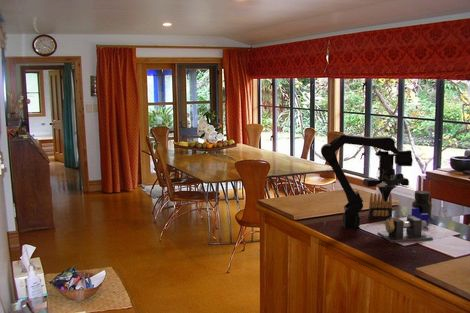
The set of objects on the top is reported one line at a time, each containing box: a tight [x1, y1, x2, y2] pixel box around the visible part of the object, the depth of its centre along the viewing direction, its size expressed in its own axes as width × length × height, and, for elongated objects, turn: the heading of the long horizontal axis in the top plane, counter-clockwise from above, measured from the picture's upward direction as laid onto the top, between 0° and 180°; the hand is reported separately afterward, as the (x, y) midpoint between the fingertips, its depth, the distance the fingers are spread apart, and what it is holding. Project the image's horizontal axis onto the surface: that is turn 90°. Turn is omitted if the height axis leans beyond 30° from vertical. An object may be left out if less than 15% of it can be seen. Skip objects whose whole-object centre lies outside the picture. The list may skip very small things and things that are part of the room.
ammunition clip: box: [367, 192, 393, 220], centre depth 238 cm, size 11×2×12 cm, turn 89°
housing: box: [377, 216, 434, 243], centre depth 209 cm, size 18×12×8 cm, turn 101°
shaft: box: [384, 219, 427, 233], centre depth 209 cm, size 16×6×6 cm, turn 100°
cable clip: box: [407, 207, 429, 227], centre depth 229 cm, size 12×4×6 cm, turn 1°
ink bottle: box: [411, 190, 433, 219], centre depth 240 cm, size 10×9×12 cm
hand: (385, 201), depth 220 cm, fingers closed
